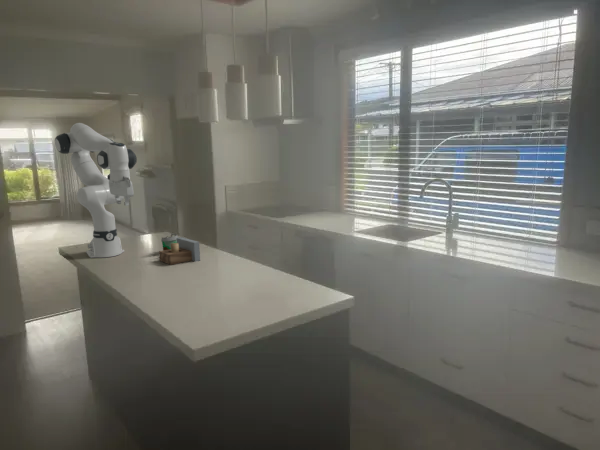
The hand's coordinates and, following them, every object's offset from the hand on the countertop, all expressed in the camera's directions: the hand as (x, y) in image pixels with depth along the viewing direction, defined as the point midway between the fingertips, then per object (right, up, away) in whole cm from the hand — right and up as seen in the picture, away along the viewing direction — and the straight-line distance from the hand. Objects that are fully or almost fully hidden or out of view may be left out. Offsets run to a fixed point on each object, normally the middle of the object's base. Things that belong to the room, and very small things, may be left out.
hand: (122, 204), depth 215 cm
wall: (+27, -28, +19) cm, 43 cm away
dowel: (+22, -28, +14) cm, 38 cm away
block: (+22, -29, +14) cm, 39 cm away
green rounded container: (+15, -26, +31) cm, 43 cm away
